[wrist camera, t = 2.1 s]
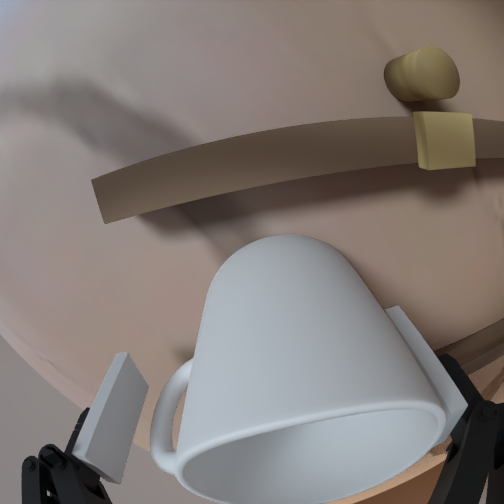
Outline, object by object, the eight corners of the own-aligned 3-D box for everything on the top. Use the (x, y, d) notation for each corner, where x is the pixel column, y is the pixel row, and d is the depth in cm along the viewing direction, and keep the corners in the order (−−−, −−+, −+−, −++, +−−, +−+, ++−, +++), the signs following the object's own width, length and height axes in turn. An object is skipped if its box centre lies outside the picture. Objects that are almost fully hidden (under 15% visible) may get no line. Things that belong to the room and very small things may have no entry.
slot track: (102, 111, 11) (65, 109, 8) (545, 93, 9) (572, 97, 6) (216, 417, 20) (214, 450, 17) (523, 320, 18) (540, 337, 15)
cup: (372, 316, 16) (444, 454, 7) (211, 388, 18) (199, 520, 9) (318, 199, 13) (446, 338, 4) (130, 306, 15) (58, 453, 6)
